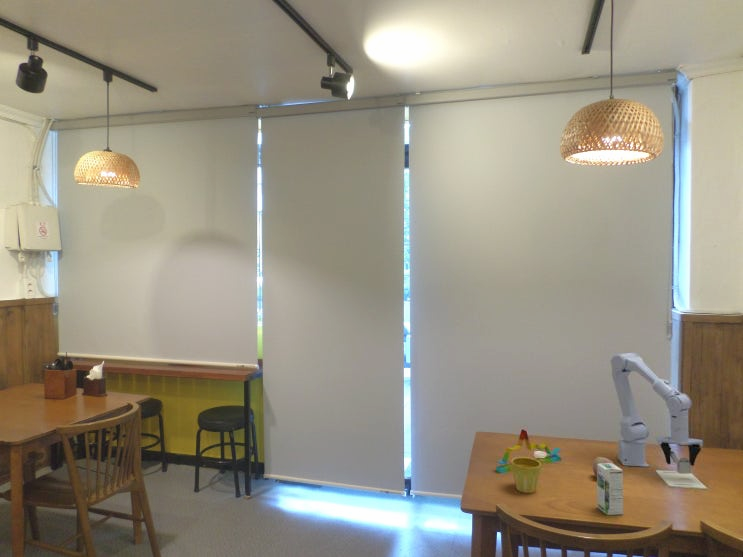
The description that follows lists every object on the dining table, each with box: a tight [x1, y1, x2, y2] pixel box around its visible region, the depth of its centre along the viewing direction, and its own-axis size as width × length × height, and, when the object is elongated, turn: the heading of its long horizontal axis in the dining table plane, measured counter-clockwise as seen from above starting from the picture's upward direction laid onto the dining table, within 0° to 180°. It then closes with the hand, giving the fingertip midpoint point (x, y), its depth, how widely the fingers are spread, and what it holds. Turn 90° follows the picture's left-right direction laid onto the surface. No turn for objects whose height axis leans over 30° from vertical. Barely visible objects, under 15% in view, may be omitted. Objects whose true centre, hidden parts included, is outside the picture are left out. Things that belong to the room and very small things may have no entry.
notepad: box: [655, 469, 708, 490], centre depth 181 cm, size 12×14×1 cm
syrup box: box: [596, 463, 624, 516], centre depth 158 cm, size 6×6×14 cm
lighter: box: [670, 450, 692, 474], centre depth 181 cm, size 7×2×8 cm, turn 88°
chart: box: [495, 429, 562, 474], centre depth 197 cm, size 30×3×15 cm, turn 113°
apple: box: [591, 456, 615, 477], centre depth 183 cm, size 8×8×8 cm
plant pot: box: [510, 456, 542, 494], centre depth 176 cm, size 10×10×10 cm
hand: (679, 464), depth 181 cm, fingers closed on lighter, 7 cm apart
